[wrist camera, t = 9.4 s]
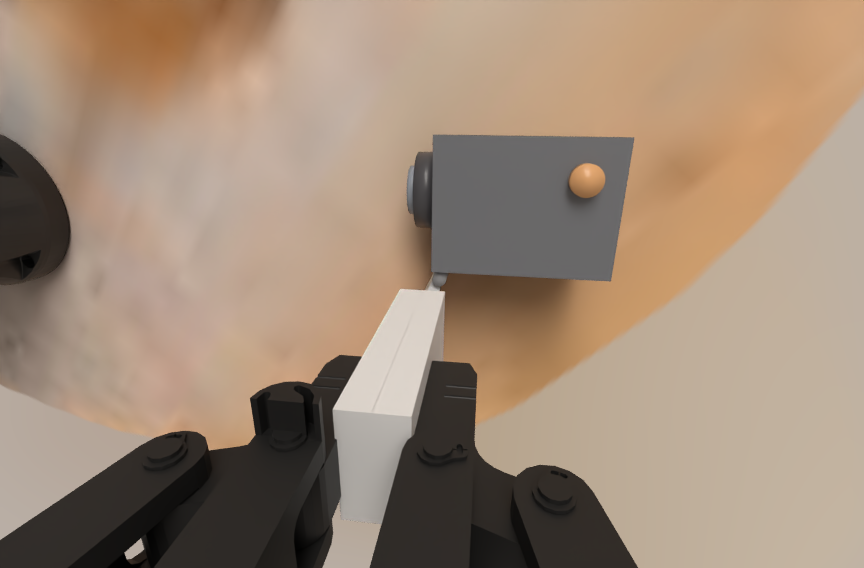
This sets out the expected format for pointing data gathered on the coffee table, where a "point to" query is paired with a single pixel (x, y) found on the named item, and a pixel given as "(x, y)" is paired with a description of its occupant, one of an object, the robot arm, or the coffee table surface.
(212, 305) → the coffee table surface
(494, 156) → the camera body
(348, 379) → the robot arm
